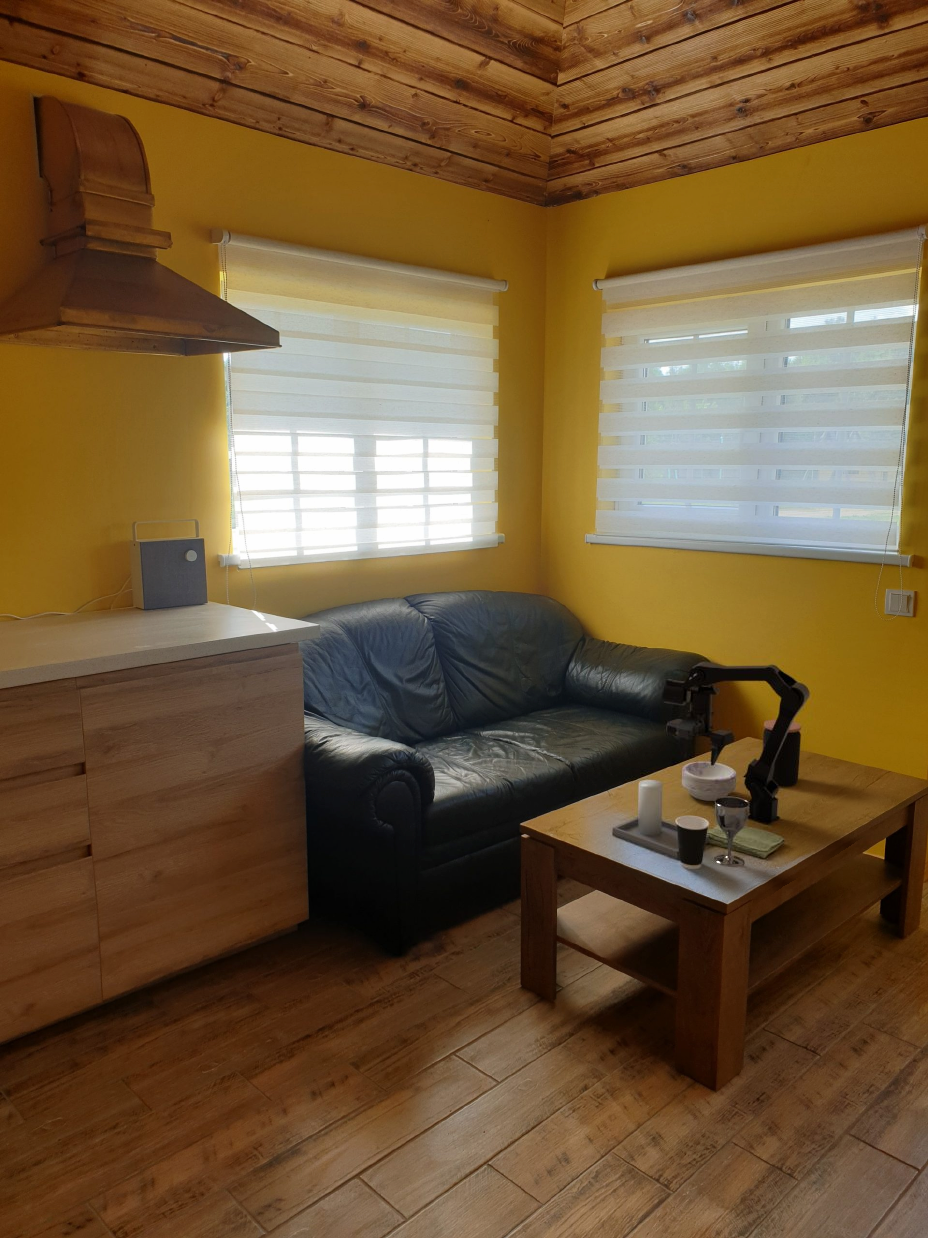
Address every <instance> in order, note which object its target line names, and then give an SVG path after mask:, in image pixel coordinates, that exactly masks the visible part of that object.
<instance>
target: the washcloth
mask: <svg viewBox="0 0 928 1238" xmlns="http://www.w3.org/2000/svg"><path fill="white" fill-rule="evenodd" d="M707 835H708V836H709V840H708V844H711V845H713V846H717V847H720V848H724V849H726V850H728V840H727V836H726V834H725V833H724V832H723V830H722V829H721V828H720V827H719V825H718V824H716V825H715V826H714V828H710V829H708V830H707ZM785 842H786V839H785V838H783V836H781V835H778V834H776V833H773V832H772V831H767V830H764V829H760V828H757V827H756V828H755V827H750V826H747V825H745V827H744V828H743V829H742V830H741V831H740V832H738V833H737V834H736V835H735V837H734V838H733V842H732V848H731V851H737V852H739V853H743V854H748V855H751V856H755V857H756V858H761V859H765V858H766V857H768V855H769V854H771V853H773V852H775V850H776V851H777V849H778V848H779V847H780V846H781V845H783V844H784V843H785Z"/></svg>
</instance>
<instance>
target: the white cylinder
mask: <svg viewBox="0 0 928 1238" xmlns="http://www.w3.org/2000/svg"><path fill="white" fill-rule="evenodd" d="M637 805H638V806H637V807H638V814H637V815H638V816H637V817H638V831H639V833H641V834H643V835H647V836H656V835H659V834H661V832H662V820H663V782H661V781H658V780H654V779H644V780H640V781H639V782H638V804H637Z"/></svg>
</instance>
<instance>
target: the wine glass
mask: <svg viewBox="0 0 928 1238" xmlns="http://www.w3.org/2000/svg"><path fill="white" fill-rule="evenodd" d="M749 805H750V801H748V800H746V799H744V798H742V797H737V796H729V795H727V796H724V797H719V798H717V799H716V800H715V801H714V813H715V814H714V816H715V819H716V823H717V824H716V825H719V827H720V828H721V829H722V830H723V832H724V833H725V834H726V836H727V840H728V849H727V853H721V854H717V855H715V856H714V857H713V860H714V861H715V862H716V863H717V864H719V865H722V866H724V867H730V868H734V867H735V868H736V867H737V868H738V867H741V866H742V865H745V860H744V859H743V858H742V857H740V856H738V855H735V854H732V850H731V848H732V842H733V838H734V837H735V835H736V834H737V833H738V832H740V831H741V830H742V829H743V828H744V827H745V826H747V825H746V824H747V823H748V819H749V818H748V815H750V814H749Z"/></svg>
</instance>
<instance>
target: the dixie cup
mask: <svg viewBox="0 0 928 1238" xmlns="http://www.w3.org/2000/svg"><path fill="white" fill-rule="evenodd" d="M675 824H676V825H677V835H678V848H679V858H678V860H679V862H680V866H681V867H683V868H685V869H689V870H696V869H699V868H701V865H702V863H703V860H704V853H705V848H706V845H705V842H706V836H707V831H708V830H709V827H710V822H709V820H707V819H705V818H703V817H701V816H697V815H681V816H680V817H677V818H675Z"/></svg>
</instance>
